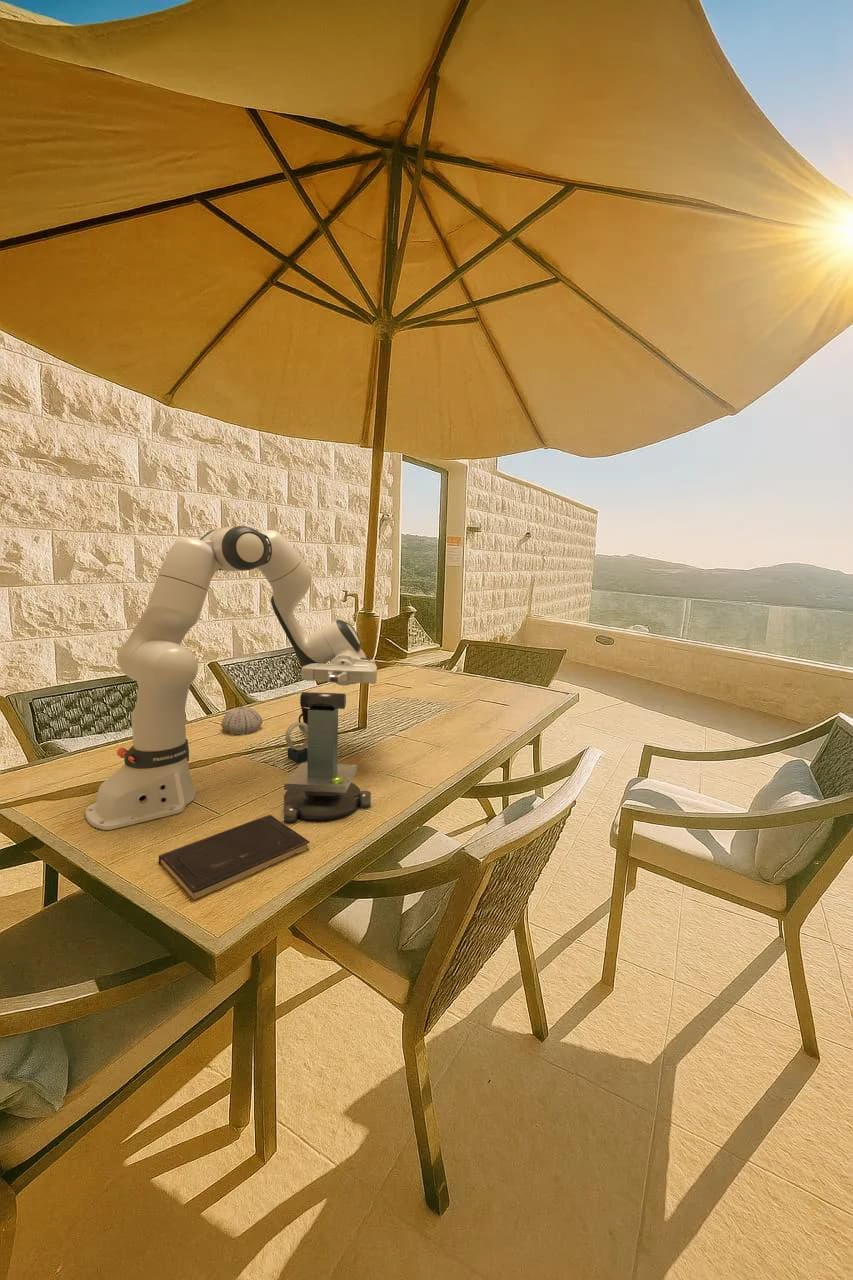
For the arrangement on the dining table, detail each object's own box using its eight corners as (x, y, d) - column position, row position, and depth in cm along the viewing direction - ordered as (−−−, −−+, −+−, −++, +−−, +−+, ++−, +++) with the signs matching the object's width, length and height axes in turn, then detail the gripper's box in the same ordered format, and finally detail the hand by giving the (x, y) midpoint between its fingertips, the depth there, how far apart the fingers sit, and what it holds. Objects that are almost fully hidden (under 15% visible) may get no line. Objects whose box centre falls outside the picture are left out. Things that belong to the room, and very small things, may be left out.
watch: (316, 758, 150) (316, 722, 148) (292, 765, 144) (291, 728, 143) (305, 753, 154) (305, 718, 152) (282, 759, 148) (281, 723, 147)
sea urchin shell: (253, 721, 183) (252, 700, 182) (268, 731, 173) (268, 708, 172) (215, 728, 175) (214, 706, 174) (229, 739, 164) (228, 715, 163)
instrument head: (302, 768, 128) (302, 686, 126) (357, 770, 127) (358, 688, 125) (284, 790, 114) (284, 698, 112) (345, 792, 114) (347, 700, 112)
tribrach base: (298, 783, 132) (298, 763, 131) (376, 787, 131) (376, 767, 131) (271, 823, 112) (270, 799, 111) (363, 827, 111) (363, 803, 110)
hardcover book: (309, 851, 102) (309, 841, 102) (193, 904, 86) (193, 891, 85) (268, 823, 113) (268, 813, 113) (158, 864, 96) (158, 853, 96)
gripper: (308, 656, 143) (293, 665, 130) (380, 660, 142) (373, 669, 129) (308, 678, 144) (293, 689, 130) (380, 681, 143) (372, 693, 130)
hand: (333, 679), depth 130 cm, fingers closed
